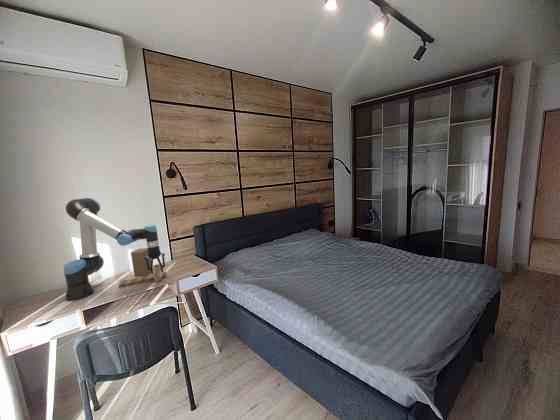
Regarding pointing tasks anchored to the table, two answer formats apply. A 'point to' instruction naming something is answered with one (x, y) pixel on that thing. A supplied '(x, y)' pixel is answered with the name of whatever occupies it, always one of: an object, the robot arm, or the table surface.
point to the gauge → (157, 272)
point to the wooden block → (140, 262)
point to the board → (139, 280)
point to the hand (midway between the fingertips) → (158, 277)
